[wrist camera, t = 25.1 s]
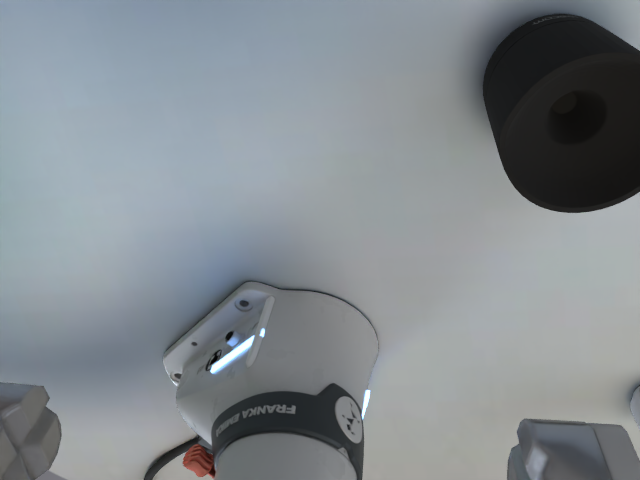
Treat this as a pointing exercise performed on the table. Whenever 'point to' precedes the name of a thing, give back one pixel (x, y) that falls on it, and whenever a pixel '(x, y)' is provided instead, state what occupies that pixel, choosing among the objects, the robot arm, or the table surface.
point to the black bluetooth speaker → (566, 113)
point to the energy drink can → (636, 406)
